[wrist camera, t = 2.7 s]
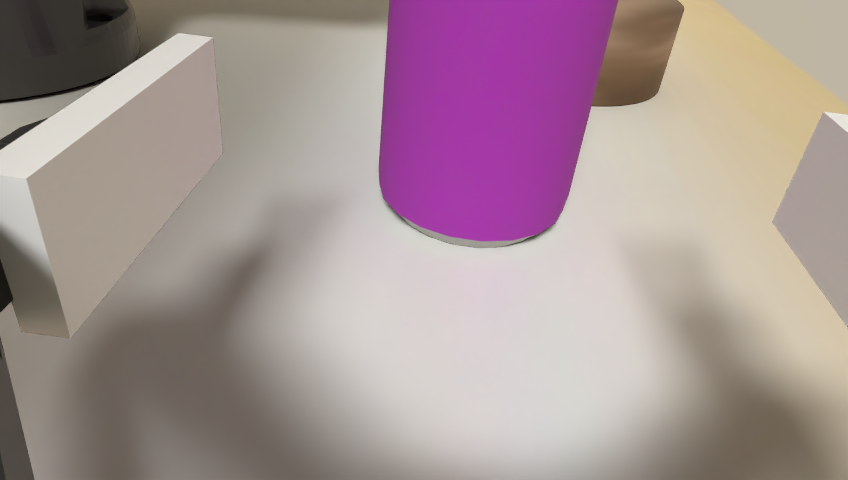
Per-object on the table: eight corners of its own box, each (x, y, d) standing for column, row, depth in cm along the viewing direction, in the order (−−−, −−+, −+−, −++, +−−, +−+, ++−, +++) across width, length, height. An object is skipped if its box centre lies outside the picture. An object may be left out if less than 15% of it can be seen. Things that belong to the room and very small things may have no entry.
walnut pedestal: (425, 51, 43) (433, -27, 40) (550, 30, 51) (563, -37, 48) (575, 121, 35) (598, 30, 33) (697, 84, 43) (723, 8, 40)
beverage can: (507, 286, 22) (591, -100, 16) (337, 208, 25) (346, -140, 19) (588, 203, 28) (675, -108, 21) (440, 147, 31) (475, -138, 24)
